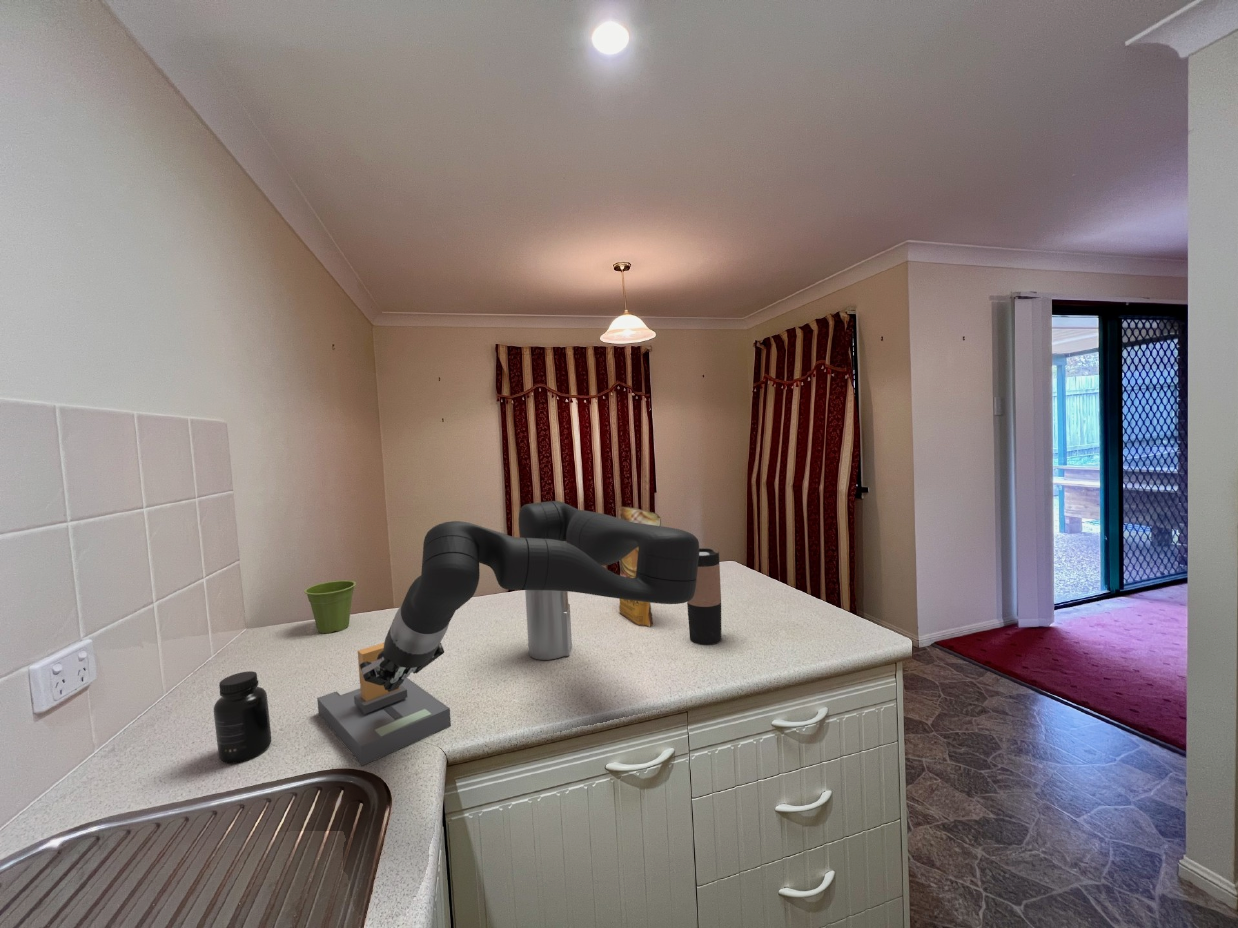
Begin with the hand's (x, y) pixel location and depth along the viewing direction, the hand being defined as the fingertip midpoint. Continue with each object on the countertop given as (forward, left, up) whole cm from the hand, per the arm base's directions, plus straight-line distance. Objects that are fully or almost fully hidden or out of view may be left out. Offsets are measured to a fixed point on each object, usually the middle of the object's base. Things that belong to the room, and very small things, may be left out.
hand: (391, 685), depth 85 cm
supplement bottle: (+22, +4, -8) cm, 24 cm away
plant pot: (+39, -50, -8) cm, 64 cm away
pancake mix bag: (-41, -50, -8) cm, 65 cm away
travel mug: (-56, -34, -8) cm, 66 cm away
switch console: (+4, -4, -8) cm, 9 cm away
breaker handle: (+4, -4, -4) cm, 7 cm away
